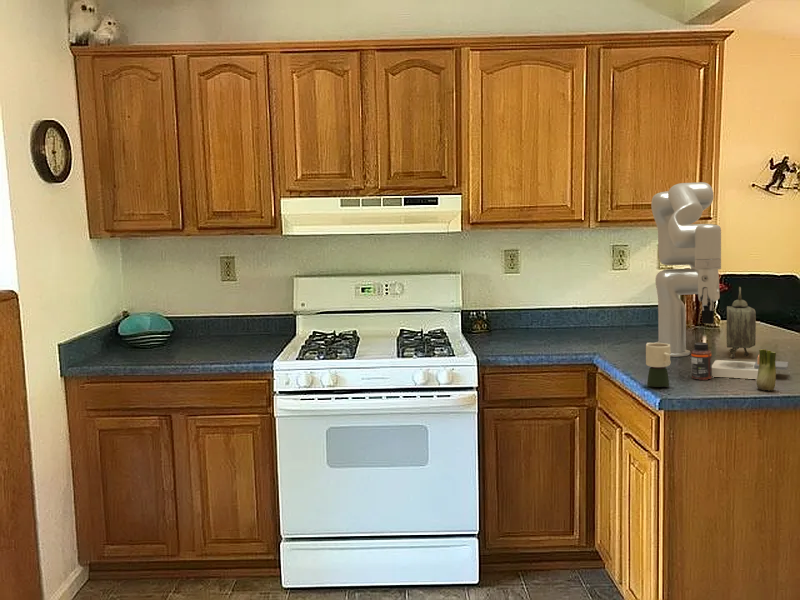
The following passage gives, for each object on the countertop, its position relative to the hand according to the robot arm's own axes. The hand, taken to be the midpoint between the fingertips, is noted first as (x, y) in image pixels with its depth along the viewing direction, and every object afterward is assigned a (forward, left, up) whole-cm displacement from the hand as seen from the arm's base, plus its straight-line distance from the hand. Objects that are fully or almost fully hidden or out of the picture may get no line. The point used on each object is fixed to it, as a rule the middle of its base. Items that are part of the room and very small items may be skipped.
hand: (708, 323), depth 234 cm
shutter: (+17, +9, -14) cm, 24 cm away
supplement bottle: (-2, -1, -18) cm, 18 cm away
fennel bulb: (+17, -11, -18) cm, 27 cm away
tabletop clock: (+5, +42, -18) cm, 46 cm away
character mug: (-12, -17, -18) cm, 27 cm away
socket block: (+8, +9, -18) cm, 21 cm away
